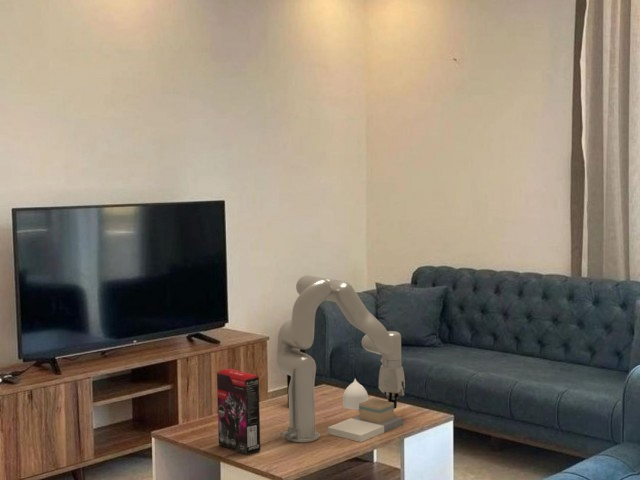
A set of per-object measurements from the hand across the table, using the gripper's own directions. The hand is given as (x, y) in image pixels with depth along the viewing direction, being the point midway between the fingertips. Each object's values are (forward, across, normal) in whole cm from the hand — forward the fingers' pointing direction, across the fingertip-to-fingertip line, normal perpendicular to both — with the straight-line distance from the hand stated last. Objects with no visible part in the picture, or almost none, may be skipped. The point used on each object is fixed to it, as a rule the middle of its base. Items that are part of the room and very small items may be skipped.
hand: (392, 408), depth 316 cm
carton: (+2, 0, -10) cm, 11 cm away
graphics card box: (+4, -22, -62) cm, 66 cm away
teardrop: (+4, -22, +5) cm, 23 cm away
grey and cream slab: (+4, 0, -17) cm, 18 cm away
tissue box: (+4, -42, -9) cm, 44 cm away
